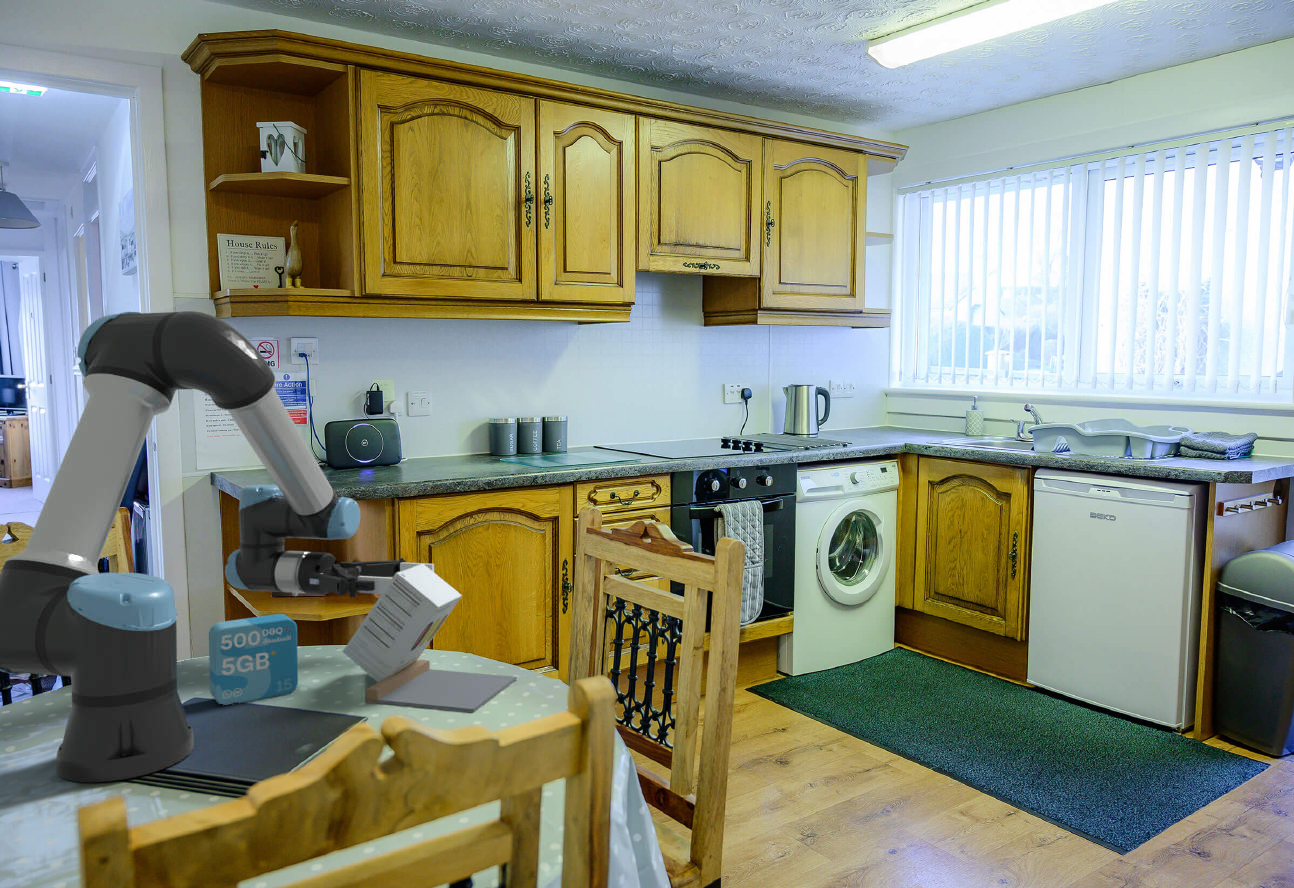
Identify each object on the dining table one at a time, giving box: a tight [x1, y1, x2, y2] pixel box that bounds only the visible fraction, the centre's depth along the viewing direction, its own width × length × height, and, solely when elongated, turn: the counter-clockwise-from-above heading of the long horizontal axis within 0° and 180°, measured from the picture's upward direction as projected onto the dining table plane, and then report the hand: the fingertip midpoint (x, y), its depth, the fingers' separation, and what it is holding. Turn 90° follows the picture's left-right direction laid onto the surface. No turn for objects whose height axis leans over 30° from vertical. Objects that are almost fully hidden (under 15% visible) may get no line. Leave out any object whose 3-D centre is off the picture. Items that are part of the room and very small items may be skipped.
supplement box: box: [342, 562, 462, 683], centre depth 145 cm, size 10×9×17 cm
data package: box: [208, 613, 299, 705], centre depth 137 cm, size 12×4×12 cm, turn 127°
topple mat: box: [365, 659, 517, 713], centre depth 140 cm, size 18×16×2 cm
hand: (414, 578), depth 153 cm, fingers open, 13 cm apart
